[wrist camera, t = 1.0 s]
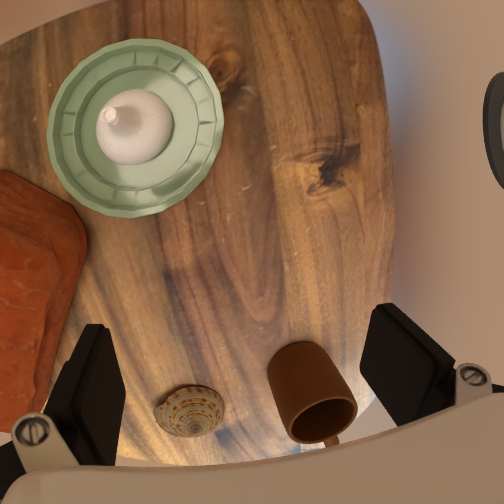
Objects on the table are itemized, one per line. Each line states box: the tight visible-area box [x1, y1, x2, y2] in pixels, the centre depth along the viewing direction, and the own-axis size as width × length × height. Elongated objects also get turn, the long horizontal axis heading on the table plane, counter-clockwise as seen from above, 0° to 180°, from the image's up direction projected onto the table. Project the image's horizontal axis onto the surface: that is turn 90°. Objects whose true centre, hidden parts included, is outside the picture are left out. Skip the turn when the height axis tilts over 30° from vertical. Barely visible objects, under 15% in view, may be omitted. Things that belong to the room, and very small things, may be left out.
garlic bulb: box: [96, 89, 172, 165], centre depth 20 cm, size 6×6×8 cm
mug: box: [268, 342, 358, 448], centre depth 32 cm, size 12×8×9 cm, turn 21°
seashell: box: [153, 387, 225, 437], centre depth 34 cm, size 8×6×8 cm
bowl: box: [46, 38, 225, 218], centre depth 23 cm, size 14×14×4 cm
